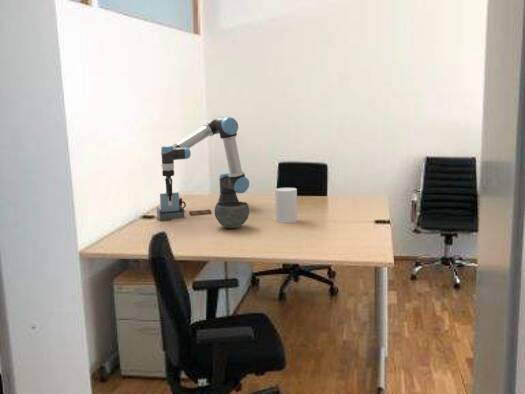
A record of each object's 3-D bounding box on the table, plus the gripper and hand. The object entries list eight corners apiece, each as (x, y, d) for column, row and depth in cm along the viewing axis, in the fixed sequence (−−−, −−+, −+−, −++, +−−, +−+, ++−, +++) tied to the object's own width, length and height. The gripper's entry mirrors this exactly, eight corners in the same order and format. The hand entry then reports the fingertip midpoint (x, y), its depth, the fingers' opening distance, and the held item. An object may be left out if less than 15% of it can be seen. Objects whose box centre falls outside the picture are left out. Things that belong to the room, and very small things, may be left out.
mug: (183, 210, 406) (182, 196, 404) (187, 212, 399) (187, 198, 398) (169, 212, 401) (168, 198, 399) (173, 214, 394) (173, 199, 392)
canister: (283, 217, 376) (282, 187, 373) (301, 219, 369) (300, 188, 365) (271, 221, 366) (270, 190, 362) (289, 223, 358) (289, 191, 354)
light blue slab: (178, 210, 385) (178, 192, 383) (179, 210, 383) (178, 192, 381) (160, 211, 381) (159, 193, 379) (161, 212, 379) (160, 194, 377)
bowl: (242, 232, 339) (241, 207, 336) (209, 230, 346) (208, 205, 344) (254, 224, 358) (254, 200, 356) (223, 222, 366) (222, 199, 363)
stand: (209, 213, 394) (209, 209, 394) (211, 215, 388) (211, 211, 387) (189, 215, 390) (188, 210, 390) (191, 217, 384) (191, 212, 383)
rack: (180, 215, 391) (180, 204, 390) (184, 218, 379) (184, 208, 378) (157, 217, 387) (156, 206, 385) (159, 221, 374) (159, 210, 373)
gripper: (160, 168, 383) (162, 203, 387) (164, 171, 369) (165, 207, 373) (172, 168, 385) (173, 202, 389) (175, 170, 371) (177, 206, 375)
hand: (169, 205), depth 381 cm, fingers closed on light blue slab, 2 cm apart
